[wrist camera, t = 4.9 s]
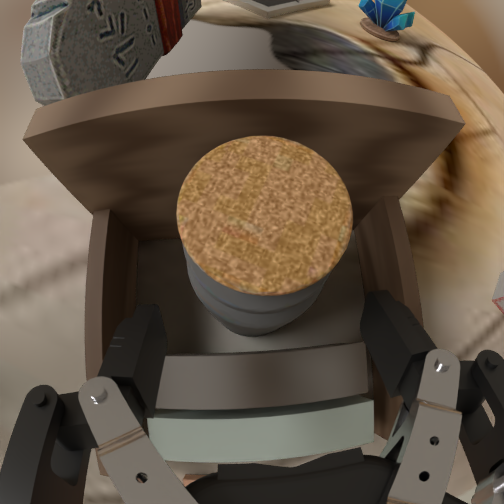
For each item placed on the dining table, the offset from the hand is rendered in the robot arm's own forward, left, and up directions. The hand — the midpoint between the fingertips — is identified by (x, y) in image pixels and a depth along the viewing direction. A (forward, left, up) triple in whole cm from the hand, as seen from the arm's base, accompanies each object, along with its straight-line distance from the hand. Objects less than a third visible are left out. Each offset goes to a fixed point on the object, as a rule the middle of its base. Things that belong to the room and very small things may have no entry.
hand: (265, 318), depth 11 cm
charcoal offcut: (0, -3, -11) cm, 11 cm away
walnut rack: (0, 0, -11) cm, 11 cm away
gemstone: (+25, +45, -11) cm, 52 cm away
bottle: (0, +3, -11) cm, 11 cm away
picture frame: (+5, +57, -12) cm, 58 cm away
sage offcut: (0, -7, -11) cm, 13 cm away
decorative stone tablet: (-12, +33, -11) cm, 36 cm away
